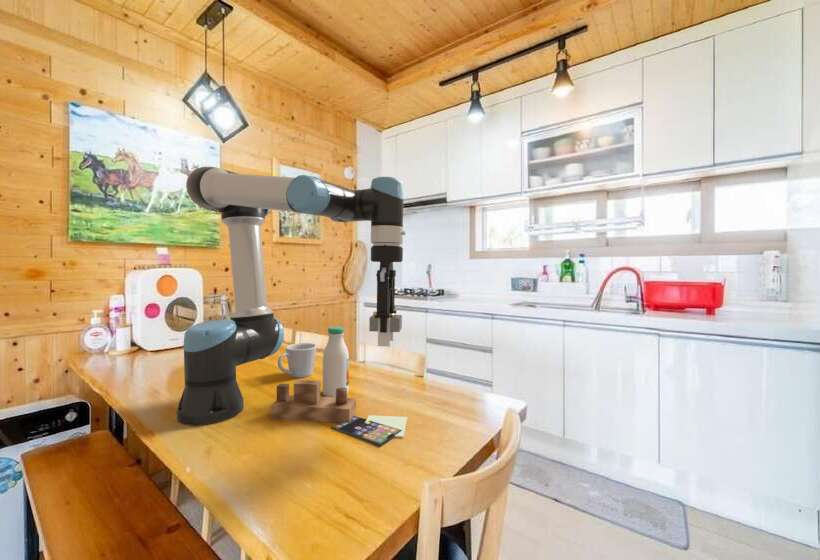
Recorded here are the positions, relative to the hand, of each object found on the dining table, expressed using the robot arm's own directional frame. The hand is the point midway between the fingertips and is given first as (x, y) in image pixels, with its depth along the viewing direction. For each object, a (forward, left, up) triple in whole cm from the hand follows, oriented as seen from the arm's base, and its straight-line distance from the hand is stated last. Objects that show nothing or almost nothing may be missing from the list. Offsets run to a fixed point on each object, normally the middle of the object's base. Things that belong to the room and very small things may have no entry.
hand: (385, 342), depth 85 cm
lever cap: (0, 0, +3) cm, 3 cm away
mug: (-36, +34, -21) cm, 54 cm away
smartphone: (-4, -2, -21) cm, 22 cm away
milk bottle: (-18, +20, -21) cm, 34 cm away
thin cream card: (0, 0, -20) cm, 20 cm away
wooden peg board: (-19, +5, -20) cm, 28 cm away
